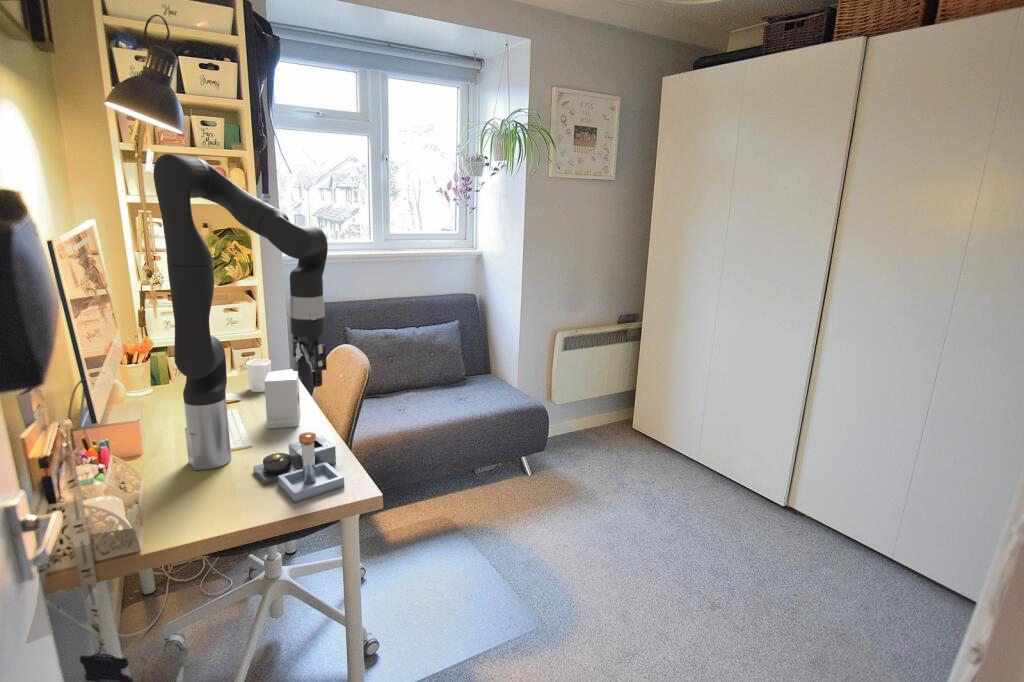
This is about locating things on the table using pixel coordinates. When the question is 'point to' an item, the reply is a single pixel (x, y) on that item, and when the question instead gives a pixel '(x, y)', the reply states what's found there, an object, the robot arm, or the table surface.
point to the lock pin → (308, 457)
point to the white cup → (258, 373)
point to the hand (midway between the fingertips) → (309, 381)
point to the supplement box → (282, 399)
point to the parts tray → (324, 483)
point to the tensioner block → (293, 460)
